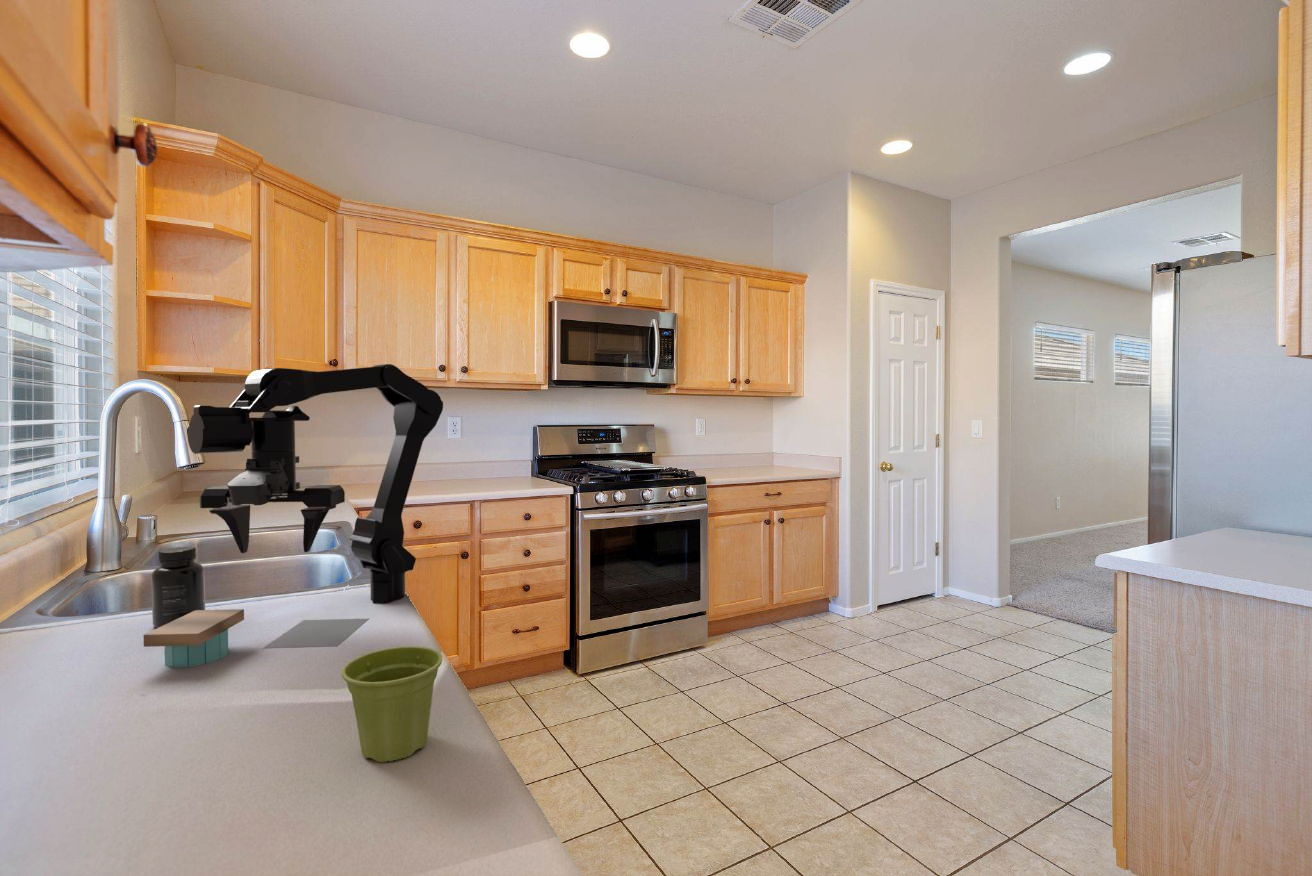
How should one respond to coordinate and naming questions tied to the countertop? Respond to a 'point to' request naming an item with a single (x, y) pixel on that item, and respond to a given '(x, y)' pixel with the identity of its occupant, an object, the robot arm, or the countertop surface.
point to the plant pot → (392, 699)
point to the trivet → (317, 633)
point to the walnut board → (194, 628)
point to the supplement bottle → (177, 585)
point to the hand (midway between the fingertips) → (275, 552)
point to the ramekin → (197, 652)
